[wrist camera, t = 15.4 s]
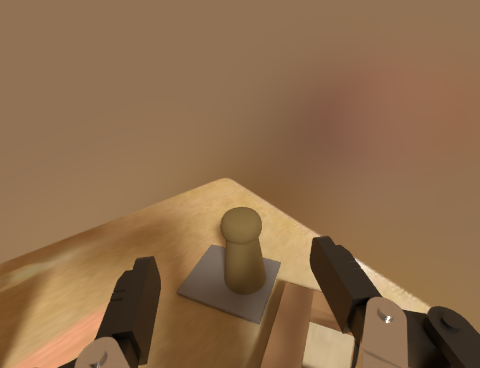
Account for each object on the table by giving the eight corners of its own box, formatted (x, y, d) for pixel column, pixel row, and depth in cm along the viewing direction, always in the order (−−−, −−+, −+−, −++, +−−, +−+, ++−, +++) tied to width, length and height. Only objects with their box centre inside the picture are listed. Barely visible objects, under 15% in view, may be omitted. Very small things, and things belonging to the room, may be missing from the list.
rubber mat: (177, 293, 33) (176, 291, 33) (212, 246, 41) (211, 244, 41) (259, 324, 29) (259, 322, 29) (280, 264, 37) (280, 262, 37)
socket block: (254, 400, 22) (254, 387, 21) (285, 295, 32) (286, 282, 31) (438, 492, 17) (450, 481, 16) (409, 333, 27) (415, 319, 26)
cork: (237, 255, 38) (232, 196, 33) (272, 269, 36) (273, 207, 30) (215, 284, 34) (205, 220, 29) (254, 302, 31) (250, 235, 26)
